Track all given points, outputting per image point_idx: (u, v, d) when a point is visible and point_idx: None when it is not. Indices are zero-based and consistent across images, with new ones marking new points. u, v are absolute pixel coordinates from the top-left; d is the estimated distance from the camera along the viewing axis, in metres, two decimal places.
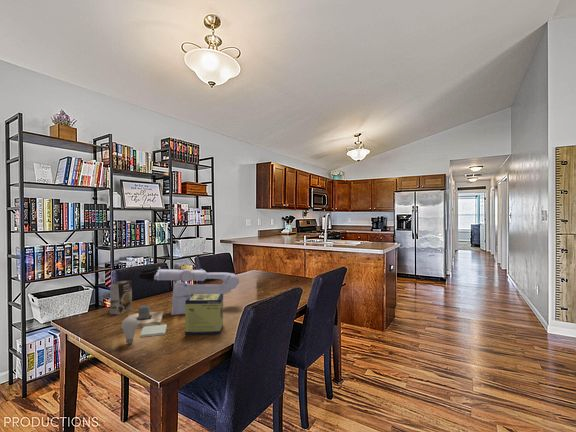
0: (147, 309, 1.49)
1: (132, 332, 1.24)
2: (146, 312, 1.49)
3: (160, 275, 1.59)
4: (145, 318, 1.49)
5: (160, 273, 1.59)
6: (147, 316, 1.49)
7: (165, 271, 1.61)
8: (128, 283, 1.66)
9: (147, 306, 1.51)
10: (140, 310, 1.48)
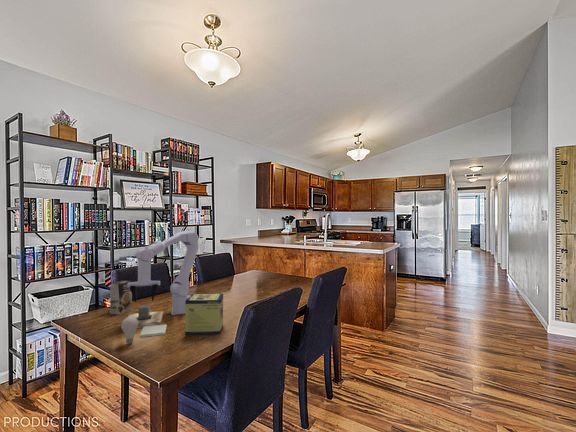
0: (147, 309, 1.49)
1: (132, 332, 1.24)
2: (146, 312, 1.49)
3: (150, 280, 1.51)
4: (145, 318, 1.49)
5: (149, 280, 1.50)
6: (147, 316, 1.49)
7: (147, 276, 1.49)
8: None
9: (147, 306, 1.51)
10: (140, 310, 1.48)
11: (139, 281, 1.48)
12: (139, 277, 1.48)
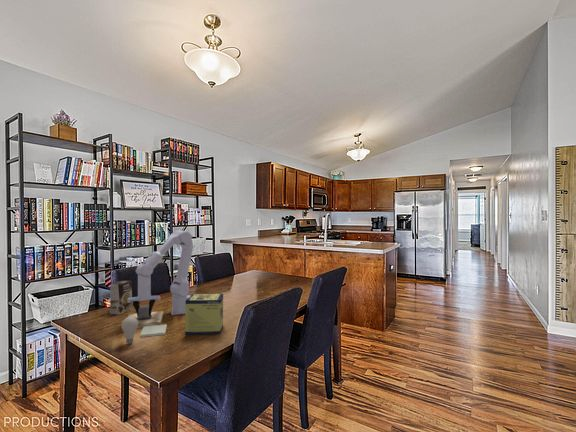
0: (147, 309, 1.49)
1: (132, 332, 1.24)
2: (146, 312, 1.49)
3: (150, 295, 1.51)
4: (145, 318, 1.49)
5: (149, 296, 1.50)
6: (147, 316, 1.49)
7: (147, 292, 1.49)
8: (128, 283, 1.66)
9: (147, 306, 1.51)
10: (140, 310, 1.48)
11: (139, 296, 1.48)
12: (139, 292, 1.48)
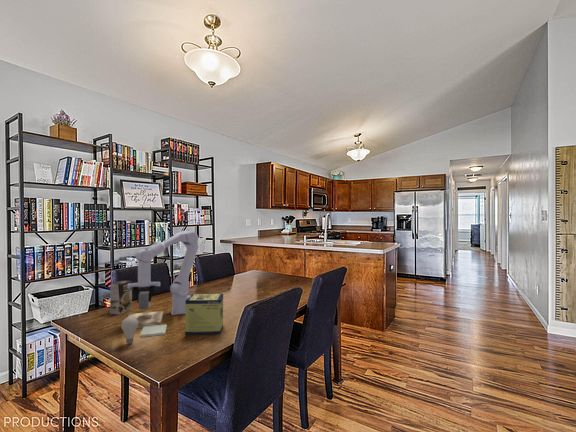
0: (147, 295, 1.49)
1: (132, 332, 1.24)
2: (146, 298, 1.49)
3: (150, 281, 1.51)
4: (145, 304, 1.48)
5: (149, 282, 1.50)
6: (147, 302, 1.49)
7: (147, 277, 1.49)
8: (128, 283, 1.66)
9: (147, 292, 1.50)
10: (140, 296, 1.48)
11: (139, 282, 1.48)
12: (139, 278, 1.48)
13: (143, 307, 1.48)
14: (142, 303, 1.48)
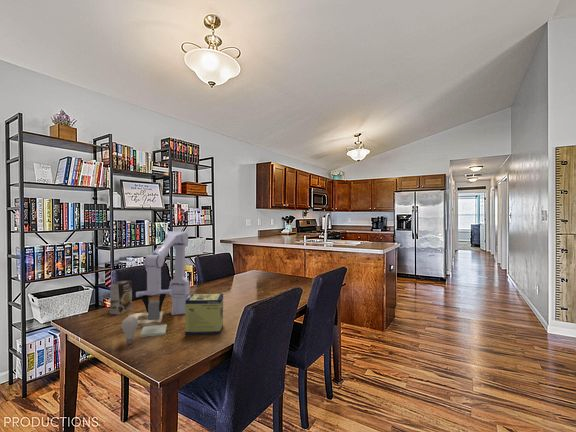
0: (157, 304, 1.37)
1: (132, 332, 1.24)
2: (156, 307, 1.36)
3: (160, 289, 1.38)
4: (155, 314, 1.36)
5: (160, 290, 1.37)
6: (157, 312, 1.37)
7: (158, 285, 1.36)
8: (128, 283, 1.66)
9: (157, 301, 1.38)
10: (150, 305, 1.36)
11: (148, 290, 1.35)
12: (148, 286, 1.35)
13: (153, 317, 1.36)
14: (152, 313, 1.36)
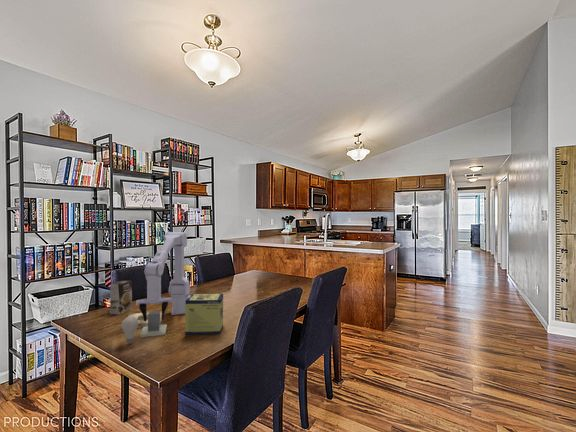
0: (157, 315, 1.37)
1: (132, 332, 1.24)
2: (156, 319, 1.36)
3: (160, 297, 1.39)
4: (155, 325, 1.36)
5: (160, 298, 1.38)
6: (157, 323, 1.37)
7: (158, 293, 1.36)
8: (128, 283, 1.66)
9: (157, 312, 1.38)
10: (150, 317, 1.36)
11: (148, 299, 1.35)
12: (148, 294, 1.35)
13: (153, 329, 1.36)
14: (152, 324, 1.36)
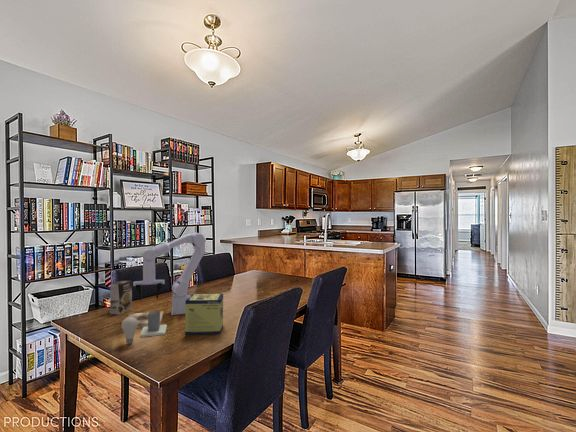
0: (157, 315, 1.37)
1: (132, 332, 1.24)
2: (156, 319, 1.36)
3: None
4: (155, 325, 1.36)
5: (154, 279, 1.56)
6: (157, 323, 1.37)
7: (152, 275, 1.55)
8: (128, 283, 1.66)
9: (157, 312, 1.38)
10: (150, 317, 1.36)
11: (144, 280, 1.54)
12: (144, 276, 1.54)
13: (153, 329, 1.36)
14: (152, 324, 1.36)
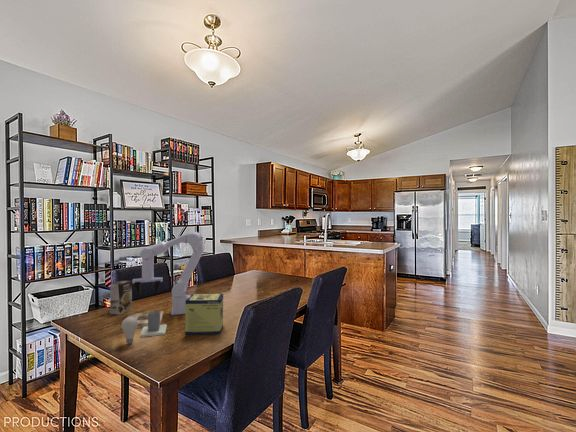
0: (157, 315, 1.37)
1: (132, 332, 1.24)
2: (156, 319, 1.36)
3: (153, 277, 1.63)
4: (155, 325, 1.36)
5: (152, 277, 1.62)
6: (157, 323, 1.37)
7: (151, 273, 1.61)
8: (128, 283, 1.66)
9: (157, 312, 1.38)
10: (150, 317, 1.36)
11: (143, 278, 1.60)
12: (143, 274, 1.60)
13: (153, 329, 1.36)
14: (152, 324, 1.36)
